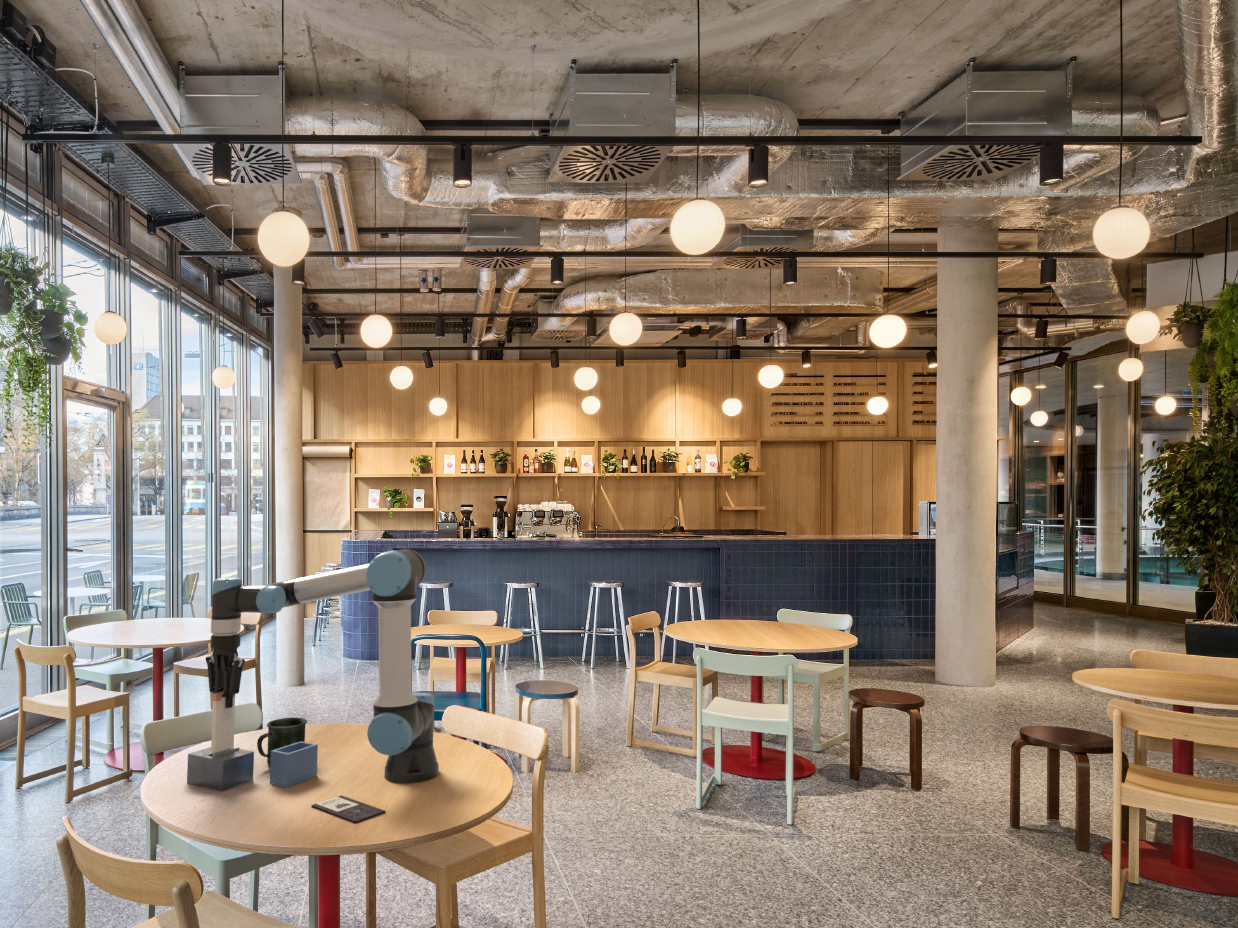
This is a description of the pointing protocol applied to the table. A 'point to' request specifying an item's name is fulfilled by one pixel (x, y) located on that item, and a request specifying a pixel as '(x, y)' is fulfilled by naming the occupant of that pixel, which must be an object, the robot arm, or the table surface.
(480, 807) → the table surface
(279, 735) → the mug
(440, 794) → the table surface
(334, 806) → the chocolate bar
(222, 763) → the dispenser
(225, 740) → the ticket
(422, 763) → the robot arm
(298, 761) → the blue open box
